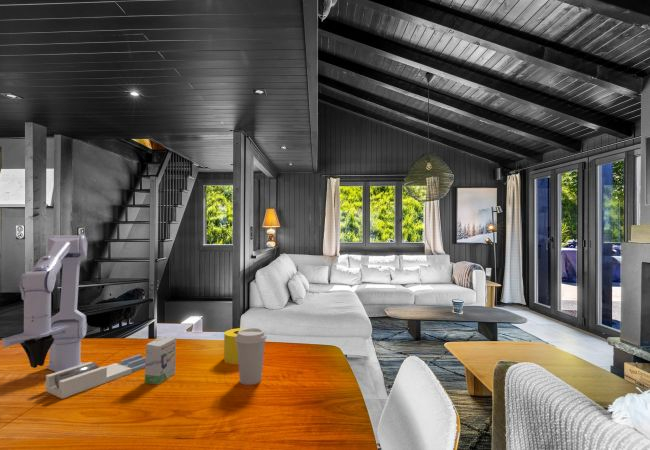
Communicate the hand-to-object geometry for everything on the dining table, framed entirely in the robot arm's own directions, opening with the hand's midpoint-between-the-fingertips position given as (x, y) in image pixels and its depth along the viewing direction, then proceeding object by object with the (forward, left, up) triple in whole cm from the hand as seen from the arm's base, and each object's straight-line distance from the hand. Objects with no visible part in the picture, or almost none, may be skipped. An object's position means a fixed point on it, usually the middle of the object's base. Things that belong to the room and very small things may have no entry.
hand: (37, 366), depth 98 cm
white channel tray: (0, +14, -9) cm, 17 cm away
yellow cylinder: (+25, +51, -10) cm, 58 cm away
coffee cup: (+41, +39, -10) cm, 57 cm away
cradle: (0, +28, -9) cm, 30 cm away
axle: (0, +10, -6) cm, 12 cm away
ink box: (+16, +26, -10) cm, 32 cm away
